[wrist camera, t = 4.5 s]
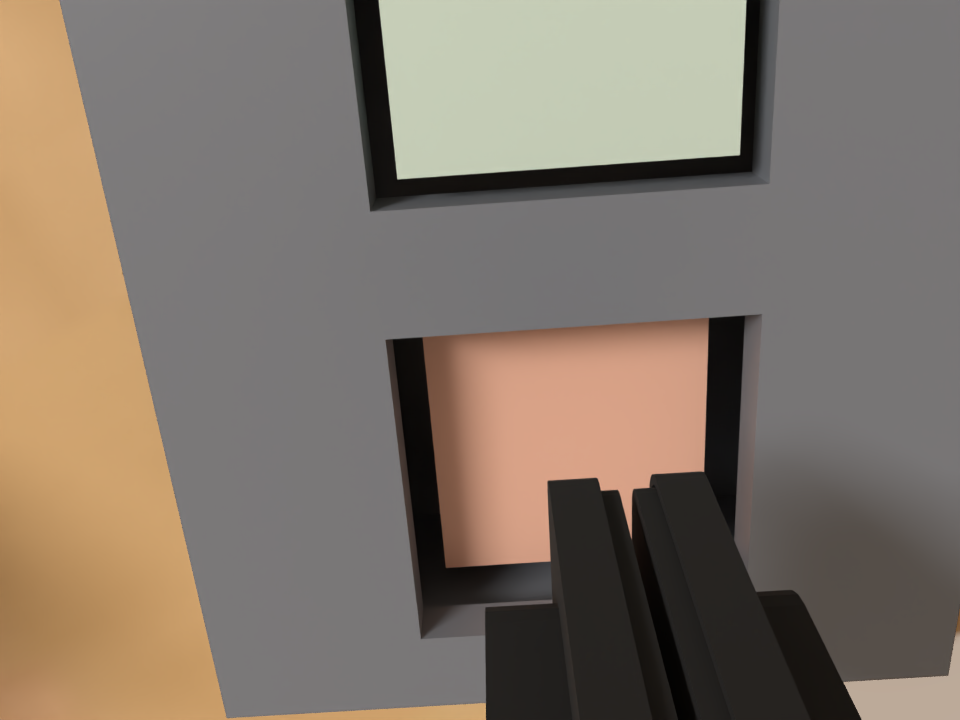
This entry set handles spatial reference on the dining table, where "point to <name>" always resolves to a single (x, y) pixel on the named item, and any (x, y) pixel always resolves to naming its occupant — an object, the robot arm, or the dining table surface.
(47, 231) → the dining table surface
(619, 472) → the terracotta key
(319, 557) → the keypad housing
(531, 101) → the sage key
